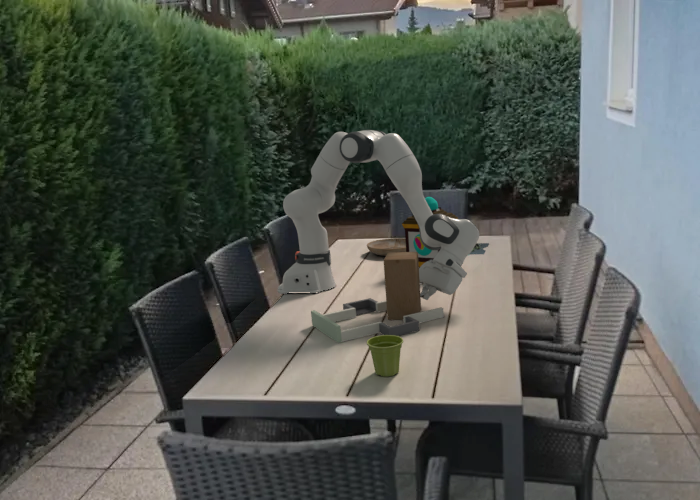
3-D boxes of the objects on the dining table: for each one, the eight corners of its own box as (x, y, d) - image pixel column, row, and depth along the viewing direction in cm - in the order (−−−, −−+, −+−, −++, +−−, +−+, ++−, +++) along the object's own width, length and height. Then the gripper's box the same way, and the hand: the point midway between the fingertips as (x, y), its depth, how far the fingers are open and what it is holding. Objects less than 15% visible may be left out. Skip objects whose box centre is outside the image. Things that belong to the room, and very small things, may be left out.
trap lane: (411, 303, 235) (411, 289, 234) (443, 317, 218) (442, 302, 217) (312, 325, 220) (310, 310, 218) (338, 342, 202) (336, 326, 201)
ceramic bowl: (403, 261, 296) (403, 249, 295) (357, 257, 309) (357, 247, 308) (428, 249, 315) (427, 238, 314) (384, 246, 328) (383, 236, 327)
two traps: (370, 306, 235) (370, 298, 234) (419, 330, 207) (418, 321, 207) (343, 312, 231) (342, 304, 230) (389, 338, 203) (388, 328, 202)
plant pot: (367, 367, 182) (364, 336, 180) (402, 363, 183) (400, 333, 181) (371, 381, 173) (368, 349, 171) (408, 377, 174) (406, 345, 172)
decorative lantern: (465, 266, 279) (462, 192, 273) (444, 278, 263) (441, 201, 257) (421, 263, 290) (417, 192, 284) (399, 274, 274) (394, 200, 268)
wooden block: (418, 320, 217) (415, 258, 213) (387, 320, 219) (383, 259, 215) (421, 310, 227) (418, 251, 222) (391, 310, 229) (387, 252, 224)
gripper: (423, 253, 235) (400, 286, 233) (458, 264, 217) (433, 299, 215) (435, 263, 238) (412, 296, 236) (470, 275, 220) (446, 310, 218)
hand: (423, 298), depth 225 cm, fingers closed
